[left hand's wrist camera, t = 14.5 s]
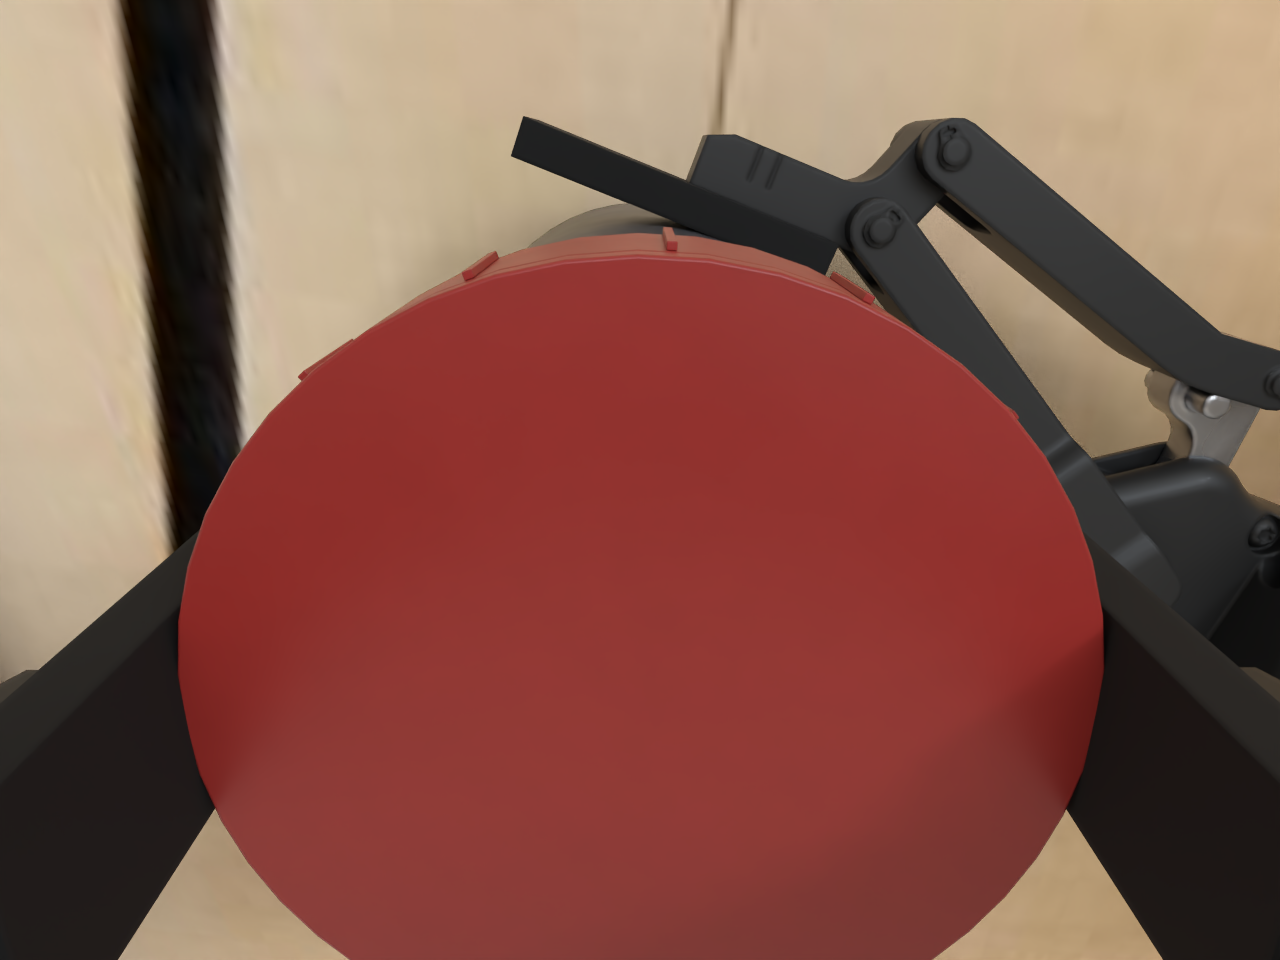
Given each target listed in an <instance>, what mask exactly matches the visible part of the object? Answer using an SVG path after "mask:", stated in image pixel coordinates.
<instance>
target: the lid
mask: <svg viewBox="0 0 1280 960" xmlns="http://www.w3.org/2000/svg"><path fill="white" fill-rule="evenodd" d="M874 299H875V296H873V295H872V294H870V293H868V292H867V291H865V290H864V289H862V288H861V287H859V286H857V285H856V284H854V283H853V282H851V281H850V280H848V279H846V278H845V277H843V276H842V275H840V274H838V273H836V272H833V273H832V275H831V276H830V278H829V277H827V276H825V275H823V274H821V273H819V272H817V271H815V270H813V269H811V268H809V267H807V266H804V265H801V264H798V263H795V262H793V261H790V260H787V259H784V258H781V257H778V256H775V255H772V254H769V253H767V252H764V251H761V250H758V249H755V248H751V247H746V246H741V245H736V244H731V243H726V242H721V241H716V240H711V239H706V238H701V237H696V236H680V235H675V234H674V232H673V229H672V228H671V227H663V234H646V233H631V234H617V235H604V236H591V237H579V238H574V239H569V240H565V241H560V242H555V243H551V244H546V245H541V246H537V247H532V248H527V249H523V250H520V251H517V252H514V253H512V254H509V255H506V256H503V257H501V258H499V257H498V255H497V252H496V251H494V252H492V253H489V254H487V255H486V256H484V257H483V258H481V259H480V260H479V261H477V262H476V263H474V264H473V265H471V266H470V267H469V268H467V269H466V270H464V271H463V272H462V273H460V274H458V275H457V276H455V277H453V278H451V279H449V280H447V281H445V282H443V283H442V284H440V285H438V286H436V287H434V288H432V289H430V290H428V291H426V292H425V293H423V294H421V295H419V296H418V297H416V298H415V299H413V300H412V301H410V302H409V303H407V304H406V305H404V306H403V307H401V308H400V309H398V310H397V311H395V312H394V313H392V314H391V315H389V316H388V317H386V318H385V319H383V320H382V321H380V322H379V323H377V324H376V325H374V326H373V327H371V328H370V329H368V330H367V331H366V332H364V333H363V334H361V335H360V336H359V337H357V338H356V339H355V340H353V339H351V340H349V341H348V342H346V343H345V344H343V345H342V346H340V347H339V348H337V349H336V350H334V351H333V352H331V353H330V354H328V355H327V356H325V357H324V358H322V359H321V360H319V361H318V362H316V363H315V364H313V365H312V366H310V367H309V368H307V369H306V370H304V371H303V372H302V373H301V374H300V375H299V376H298V378H299V379H300V380H301V382H300V383H299V384H298V385H297V386H296V387H295V388H294V389H293V390H292V391H291V392H290V393H289V394H288V395H287V396H286V397H285V398H284V399H283V400H282V401H281V402H280V403H279V404H278V405H277V406H276V407H275V408H274V409H273V410H272V411H271V412H270V413H269V414H268V415H267V417H266V418H265V419H264V421H263V422H262V424H261V425H260V426H259V428H258V429H257V430H256V432H255V433H254V434H253V436H252V437H251V438H250V440H249V441H248V442H247V444H246V445H245V446H244V448H243V449H242V450H241V452H240V453H239V454H238V456H237V457H236V458H235V460H234V461H233V463H232V464H231V466H230V468H229V470H228V472H227V474H226V476H225V478H224V480H223V482H222V483H221V485H220V487H219V489H218V491H217V493H216V495H215V497H214V499H213V501H212V502H211V504H210V506H209V508H208V510H207V512H206V514H205V517H204V520H203V523H202V526H201V529H200V532H199V534H198V537H197V540H196V543H195V546H194V549H193V552H192V555H191V558H190V561H189V564H188V567H187V573H186V579H185V585H184V591H183V597H182V602H181V608H180V614H179V620H178V679H179V684H180V689H181V694H182V700H183V705H184V710H185V715H186V720H187V724H188V729H189V734H190V738H191V742H192V747H193V751H194V755H195V759H196V764H197V767H198V770H199V774H200V776H201V778H202V780H203V783H204V785H205V787H206V789H207V791H208V793H209V796H210V798H211V800H212V802H213V804H214V806H215V808H216V811H217V813H218V815H219V817H220V819H221V821H222V823H223V824H224V826H225V827H226V829H227V831H228V832H229V834H230V835H231V837H232V838H233V840H234V841H235V843H236V845H237V846H238V848H239V849H240V851H241V852H242V854H243V856H244V857H245V859H246V860H247V862H248V863H249V864H250V866H251V867H252V868H253V869H254V870H255V872H256V873H257V874H258V875H259V876H260V877H261V879H262V880H263V881H264V882H265V883H266V885H267V886H268V887H269V888H270V889H271V891H272V892H273V893H274V894H275V895H276V897H277V898H278V899H279V900H280V901H281V902H282V903H283V904H284V905H285V906H286V907H287V908H288V909H289V910H290V911H291V912H292V913H294V914H295V915H296V916H297V917H298V918H299V919H300V920H301V921H302V922H303V923H304V924H305V925H306V926H307V927H308V928H310V929H311V930H312V931H313V932H314V933H315V934H316V935H317V936H318V937H320V938H321V939H322V940H324V941H325V942H326V943H328V944H329V945H331V946H332V947H333V948H335V949H336V950H337V951H339V952H340V953H341V954H343V955H344V956H345V957H347V958H348V959H349V960H932V959H934V958H935V957H936V956H938V955H939V954H940V953H942V952H943V951H944V950H946V949H947V948H948V947H950V946H951V945H952V944H953V943H955V942H956V941H957V940H959V939H960V938H961V937H963V936H964V935H965V934H967V933H968V932H969V931H970V930H971V929H972V928H973V927H974V926H975V925H976V924H977V923H979V922H980V921H981V920H982V919H983V918H984V917H985V916H986V915H987V914H988V913H989V912H990V911H991V910H992V909H993V908H994V907H995V906H996V905H997V904H998V903H999V902H1000V901H1001V900H1002V899H1003V898H1005V896H1006V895H1007V894H1008V893H1009V892H1010V890H1011V889H1012V888H1013V887H1014V885H1015V884H1016V883H1017V882H1018V880H1019V879H1020V878H1021V877H1022V876H1023V874H1024V873H1025V872H1026V871H1027V869H1028V868H1029V867H1030V866H1031V865H1032V863H1033V862H1034V861H1035V860H1036V858H1037V857H1038V855H1039V854H1040V852H1041V850H1042V849H1043V847H1044V846H1045V844H1046V842H1047V841H1048V839H1049V838H1050V836H1051V834H1052V833H1053V831H1054V830H1055V828H1056V826H1057V825H1058V823H1059V821H1060V820H1061V818H1062V817H1063V815H1064V813H1065V810H1066V808H1067V806H1068V804H1069V801H1070V799H1071V797H1072V795H1073V792H1074V790H1075V788H1076V786H1077V783H1078V781H1079V779H1080V777H1081V775H1082V772H1083V768H1084V764H1085V760H1086V756H1087V751H1088V747H1089V743H1090V738H1091V733H1092V729H1093V724H1094V719H1095V715H1096V710H1097V705H1098V700H1099V695H1100V690H1101V685H1102V679H1103V674H1104V639H1103V613H1102V608H1101V603H1100V597H1099V592H1098V587H1097V581H1096V576H1095V570H1094V565H1093V560H1092V558H1091V555H1090V552H1089V549H1088V546H1087V544H1086V541H1085V538H1084V535H1083V532H1082V530H1081V527H1080V524H1079V521H1078V518H1077V516H1076V513H1075V510H1074V507H1073V506H1072V504H1071V502H1070V500H1069V498H1068V496H1067V495H1066V493H1065V491H1064V489H1063V487H1062V486H1061V484H1060V482H1059V480H1058V478H1057V476H1056V475H1055V473H1054V471H1053V469H1052V467H1051V465H1050V464H1049V462H1048V460H1047V458H1046V456H1045V455H1044V454H1043V453H1042V451H1041V450H1040V449H1039V447H1038V446H1037V445H1036V443H1035V442H1034V441H1033V440H1032V438H1031V437H1030V436H1029V434H1028V433H1027V432H1026V430H1025V429H1024V428H1023V427H1022V425H1021V424H1020V423H1019V421H1018V420H1017V419H1019V416H1018V415H1017V414H1016V413H1015V411H1013V410H1012V409H1011V408H1009V407H1008V406H1006V405H1005V404H1004V403H1002V402H1001V401H1000V400H999V399H998V398H997V397H996V396H995V395H994V394H993V393H992V392H991V391H990V390H989V389H988V388H987V387H986V386H984V385H983V384H982V383H981V382H980V381H979V380H978V379H977V378H976V377H975V376H974V375H973V374H972V373H971V372H970V371H969V370H968V369H967V368H966V367H965V366H964V365H962V364H961V363H960V362H958V361H957V360H955V359H954V358H953V357H951V356H950V355H948V354H947V353H946V352H944V351H943V350H941V349H940V348H938V347H937V346H936V345H934V344H933V343H931V342H930V341H929V340H927V339H926V338H924V337H923V336H921V335H920V334H919V333H917V332H916V331H914V330H913V329H911V328H910V327H909V326H907V325H906V324H904V323H903V322H901V321H900V320H898V319H897V318H895V317H894V316H892V315H891V314H889V313H888V312H886V311H885V310H883V309H882V308H880V307H879V306H877V305H876V304H874V303H873V301H874Z"/></svg>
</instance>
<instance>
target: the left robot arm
mask: <svg viewBox="0 0 1280 960" xmlns="http://www.w3.org/2000/svg"><path fill="white" fill-rule="evenodd" d="M199 532H200V530H199V531H198V532H197V533H196V534H194V535H193V536H192V537H191V538H190V539H189V540H188V541H186V542H185V543H184V544H183V545H182V546H181V547H179V548H178V549H177V550H176V551H175V552H174V553H173V554H171V555H170V556H169V557H168V558H167V559H166V560H165V561H163V562H162V563H161V564H160V565H159V566H158V567H156V568H155V569H154V570H153V571H152V572H151V573H150V574H148V575H147V576H146V577H145V578H144V579H143V580H142V581H140V582H139V583H138V584H137V585H136V586H135V587H133V588H132V589H131V590H130V591H129V592H128V593H127V594H125V595H124V596H123V597H122V598H121V599H120V600H119V601H117V602H116V603H115V604H114V605H113V606H112V607H110V608H109V609H108V610H107V611H106V612H105V613H104V614H102V615H101V616H100V617H99V618H98V619H97V620H96V621H94V622H93V623H92V624H91V625H90V626H89V627H87V628H86V629H85V630H84V631H83V632H82V633H81V634H79V635H78V636H77V637H76V638H75V639H74V640H73V641H71V642H70V643H69V644H68V645H67V646H66V647H64V648H63V649H62V650H61V651H60V652H59V653H58V654H56V655H55V656H54V657H53V658H52V659H51V660H50V661H48V662H47V663H46V664H45V665H44V666H43V667H42V668H40V669H39V670H26V671H24V672H22V673H20V674H18V675H16V676H14V677H13V678H11V679H9V680H7V681H5V682H3V683H1V684H0V960H118V959H119V957H120V956H121V954H122V952H123V951H124V949H125V948H126V946H127V945H128V943H129V942H130V940H131V938H132V937H133V935H134V934H135V932H136V931H137V929H138V928H139V926H140V924H141V923H142V921H143V920H144V918H145V917H146V915H147V914H148V912H149V910H150V909H151V907H152V906H153V904H154V903H155V901H156V900H157V898H158V896H159V895H160V893H161V892H162V890H163V889H164V887H165V886H166V884H167V882H168V881H169V879H170V878H171V876H172V875H173V873H174V872H175V870H176V868H177V867H178V865H179V864H180V862H181V861H182V859H183V858H184V856H185V854H186V853H187V851H188V850H189V848H190V847H191V845H192V843H193V842H194V840H195V839H196V837H197V836H198V834H199V833H200V831H201V829H202V828H203V826H204V825H205V823H206V822H207V820H208V819H209V817H210V815H211V814H212V812H213V811H214V809H215V806H214V804H213V802H212V800H211V798H210V796H209V793H208V791H207V789H206V787H205V785H204V783H203V780H202V778H201V776H200V774H199V770H198V767H197V764H196V759H195V755H194V751H193V747H192V742H191V738H190V734H189V729H188V724H187V720H186V715H185V710H184V705H183V700H182V694H181V689H180V684H179V679H178V620H179V614H180V608H181V602H182V597H183V591H184V585H185V579H186V573H187V567H188V564H189V561H190V558H191V555H192V552H193V549H194V546H195V543H196V540H197V537H198V534H199ZM1082 532H1083V531H1082ZM1083 535H1084V538H1085V541H1086V544H1087V546H1088V549H1089V552H1090V555H1091V558H1092V560H1093V565H1094V570H1095V576H1096V581H1097V587H1098V592H1099V597H1100V603H1101V608H1102V613H1103V639H1104V674H1103V679H1102V685H1101V690H1100V695H1099V700H1098V705H1097V710H1096V715H1095V719H1094V724H1093V729H1092V733H1091V738H1090V743H1089V747H1088V751H1087V756H1086V760H1085V764H1084V768H1083V772H1082V775H1081V777H1080V779H1079V781H1078V783H1077V786H1076V788H1075V790H1074V792H1073V795H1072V797H1071V799H1070V801H1069V804H1068V806H1067V808H1066V809H1067V811H1068V812H1069V814H1070V816H1071V817H1072V819H1073V820H1074V822H1075V823H1076V825H1077V826H1078V828H1079V830H1080V831H1081V833H1082V834H1083V836H1084V837H1085V839H1086V840H1087V842H1088V844H1089V845H1090V847H1091V848H1092V850H1093V851H1094V853H1095V854H1096V856H1097V858H1098V859H1099V861H1100V862H1101V864H1102V865H1103V867H1104V868H1105V870H1106V872H1107V873H1108V875H1109V876H1110V878H1111V879H1112V881H1113V883H1114V884H1115V886H1116V887H1117V889H1118V890H1119V892H1120V893H1121V895H1122V897H1123V898H1124V900H1125V901H1126V903H1127V904H1128V906H1129V907H1130V909H1131V911H1132V912H1133V914H1134V915H1135V917H1136V918H1137V920H1138V921H1139V923H1140V925H1141V926H1142V928H1143V929H1144V931H1145V932H1146V934H1147V935H1148V937H1149V939H1150V940H1151V942H1152V943H1153V945H1154V946H1155V948H1156V949H1157V951H1158V953H1159V954H1160V956H1161V957H1162V959H1163V960H1280V680H1279V679H1277V678H1275V677H1273V676H1271V675H1269V674H1268V673H1266V672H1264V671H1262V670H1260V669H1258V668H1256V667H1238V666H1237V665H1236V664H1235V663H1234V662H1233V661H1231V660H1230V659H1229V658H1228V657H1227V656H1226V655H1225V654H1223V653H1222V652H1221V651H1220V650H1219V649H1218V648H1217V647H1215V646H1214V645H1213V644H1212V643H1211V642H1210V641H1208V640H1207V639H1206V638H1205V637H1204V636H1203V635H1202V634H1200V633H1199V632H1198V631H1197V630H1196V629H1195V628H1194V627H1192V626H1191V625H1190V624H1189V623H1188V622H1187V621H1185V620H1184V619H1183V618H1182V617H1181V616H1180V615H1179V614H1177V613H1176V612H1175V611H1174V610H1173V609H1172V608H1171V607H1169V606H1168V605H1167V604H1166V603H1165V602H1164V601H1162V600H1161V599H1160V598H1159V597H1158V596H1157V595H1156V594H1154V593H1153V592H1152V591H1151V590H1150V589H1149V588H1148V587H1146V586H1145V585H1144V584H1143V583H1142V582H1141V581H1139V580H1138V579H1137V578H1136V577H1135V576H1134V575H1133V574H1131V573H1130V572H1129V571H1128V570H1127V569H1126V568H1125V567H1123V566H1122V565H1121V564H1120V563H1119V562H1118V561H1116V560H1115V559H1114V558H1113V557H1112V556H1111V555H1110V554H1108V553H1107V552H1106V551H1105V550H1104V549H1103V548H1102V547H1100V546H1099V545H1098V544H1097V543H1096V542H1095V541H1093V540H1092V539H1091V538H1090V537H1089V536H1088V535H1087V534H1085V533H1084V532H1083Z"/></svg>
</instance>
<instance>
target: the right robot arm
mask: <svg viewBox="0 0 1280 960" xmlns="http://www.w3.org/2000/svg"><path fill="white" fill-rule="evenodd" d="M511 156H512V157H514V158H517V159H519V160H522V161H524V162H527V163H529V164H532V165H534V166H537V167H539V168H542V169H544V170H547V171H549V172H552V173H554V174H557V175H559V176H562V177H564V178H567V179H569V180H572V181H574V182H577V183H579V184H582V185H584V186H586V187H589V188H591V189H594V190H596V191H599V192H601V193H604V194H606V195H609V196H611V197H614V198H616V199H619V200H621V201H624V202H626V203H629V204H631V205H634V206H636V207H639V208H641V209H644V210H646V211H649V212H651V213H654V214H656V215H659V216H661V217H664V218H666V219H669V220H671V221H674V222H676V223H679V224H681V225H684V226H686V227H689V228H691V229H694V230H696V231H699V232H701V233H704V234H706V235H709V236H711V237H714V238H716V239H718V240H721V241H724V242H727V243H731V244H736V245H741V246H746V247H751V248H755V249H758V250H761V251H764V252H767V253H769V254H772V255H775V256H778V257H781V258H784V259H787V260H790V261H793V262H795V263H798V264H801V265H804V266H807V267H809V268H811V269H813V270H815V271H817V272H819V273H821V274H823V275H825V274H826V272H827V270H828V268H829V265H830V263H831V261H832V259H833V257H834V254H835V252H836V250H837V248H839V250H840V251H841V252H842V254H843V255H844V256H845V258H846V259H847V260H848V262H849V263H850V264H851V265H852V267H853V268H854V269H855V271H856V272H857V273H858V275H859V276H860V277H861V279H862V280H863V281H864V283H865V284H866V285H867V287H868V288H869V289H870V290H871V292H872V293H873V294H874V296H875V297H876V298H877V300H878V301H879V302H880V304H881V305H882V306H883V308H884V309H885V310H886V311H887V312H888V313H889V314H891V315H892V316H894V317H895V318H897V319H898V320H900V321H901V322H903V323H904V324H906V325H907V326H909V327H910V328H911V329H913V330H914V331H916V332H917V333H919V334H920V335H921V336H923V337H924V338H926V339H927V340H929V341H930V342H931V343H933V344H934V345H936V346H937V347H938V348H940V349H941V350H943V351H944V352H946V353H947V354H948V355H950V356H951V357H953V358H954V359H955V360H957V361H958V362H960V363H961V364H962V365H964V366H965V367H966V368H967V369H968V370H969V371H970V372H971V373H972V374H973V375H974V376H975V377H976V378H977V379H978V380H979V381H980V382H981V383H982V384H983V385H984V386H986V387H987V388H988V389H989V390H990V391H991V392H992V393H993V394H994V395H995V396H996V397H997V398H998V399H999V400H1000V401H1001V402H1002V403H1004V404H1005V405H1006V406H1008V407H1009V408H1011V409H1012V410H1013V411H1015V413H1016V414H1017V415H1018V416H1019V419H1017V420H1018V421H1019V423H1020V424H1021V425H1022V427H1023V428H1024V429H1025V430H1026V432H1027V433H1028V434H1029V436H1030V437H1031V438H1032V440H1033V441H1034V442H1035V443H1036V445H1037V446H1038V447H1039V449H1040V450H1041V451H1042V453H1043V454H1044V455H1045V456H1046V458H1047V460H1048V462H1049V464H1050V465H1051V467H1052V469H1053V471H1054V473H1055V475H1056V476H1057V478H1058V480H1059V482H1060V484H1061V486H1062V487H1063V489H1064V491H1065V493H1066V495H1067V496H1068V498H1069V500H1070V502H1071V504H1072V506H1073V507H1074V510H1075V513H1076V516H1077V518H1078V521H1079V524H1080V527H1081V530H1082V531H1083V532H1084V533H1085V534H1087V535H1088V536H1089V537H1090V538H1091V539H1092V540H1093V541H1095V542H1096V543H1097V544H1098V545H1099V546H1100V547H1102V548H1103V549H1104V550H1105V551H1106V552H1107V553H1108V554H1110V555H1111V556H1112V557H1113V558H1114V559H1115V560H1116V561H1118V562H1119V563H1120V564H1121V565H1122V566H1123V567H1125V568H1126V569H1127V570H1128V571H1129V572H1130V573H1131V574H1133V575H1134V576H1135V577H1136V578H1137V579H1138V580H1139V581H1141V582H1142V583H1143V584H1144V585H1145V586H1146V587H1148V588H1149V589H1150V590H1151V591H1152V592H1153V593H1154V594H1156V595H1157V596H1158V597H1159V598H1160V599H1161V600H1162V601H1164V602H1165V603H1166V604H1167V605H1168V606H1169V607H1171V608H1172V609H1173V610H1174V611H1175V612H1176V613H1177V614H1179V615H1180V616H1181V617H1182V618H1183V619H1184V620H1185V621H1187V622H1188V623H1189V624H1190V625H1191V626H1192V627H1194V628H1195V629H1196V630H1197V631H1198V632H1199V633H1200V634H1202V635H1203V636H1204V637H1205V638H1206V639H1207V640H1208V641H1210V642H1211V643H1212V644H1213V645H1214V646H1215V647H1217V648H1218V649H1219V650H1220V651H1221V652H1222V653H1223V654H1225V655H1226V656H1227V657H1228V658H1229V659H1230V660H1231V661H1233V662H1234V663H1235V664H1236V665H1237V666H1238V667H1256V668H1258V669H1260V670H1262V671H1264V672H1266V673H1268V674H1269V675H1271V676H1273V677H1275V678H1277V679H1279V680H1280V505H1277V504H1275V503H1272V502H1270V501H1267V500H1265V499H1262V498H1259V497H1257V496H1254V495H1252V494H1249V493H1248V492H1247V491H1246V490H1245V488H1244V487H1243V486H1242V484H1241V482H1240V480H1239V479H1238V477H1237V476H1236V474H1235V473H1234V472H1233V471H1232V470H1231V469H1230V468H1229V465H1230V463H1231V461H1232V459H1233V457H1234V456H1235V454H1236V452H1237V450H1238V448H1239V446H1240V444H1241V443H1242V441H1243V439H1244V437H1245V435H1246V433H1247V432H1248V430H1249V428H1250V426H1251V424H1252V422H1253V421H1254V419H1255V417H1256V415H1257V413H1258V411H1259V410H1260V408H1261V409H1265V410H1276V411H1277V410H1280V351H1279V350H1276V349H1273V348H1270V347H1267V346H1263V345H1260V344H1257V343H1254V342H1251V341H1248V340H1245V339H1241V338H1238V337H1235V336H1232V335H1229V334H1226V333H1223V332H1219V331H1218V330H1217V329H1216V328H1215V327H1213V326H1212V325H1211V324H1210V323H1209V322H1208V321H1206V320H1205V319H1204V318H1203V317H1202V316H1201V315H1199V314H1198V313H1197V312H1196V311H1195V310H1193V309H1192V308H1191V307H1190V306H1189V305H1188V304H1186V303H1185V302H1184V301H1183V300H1182V299H1181V298H1179V297H1178V296H1177V295H1176V294H1175V293H1174V292H1172V291H1171V290H1170V289H1169V288H1168V287H1166V286H1165V285H1164V284H1163V283H1162V282H1161V281H1159V280H1158V279H1157V278H1156V277H1155V276H1154V275H1152V274H1151V273H1150V272H1149V271H1148V270H1146V269H1145V268H1144V267H1143V266H1142V265H1141V264H1139V263H1138V262H1137V261H1136V260H1135V259H1134V258H1132V257H1131V256H1130V255H1129V254H1128V253H1126V252H1125V251H1124V250H1123V249H1122V248H1121V247H1119V246H1118V245H1117V244H1116V243H1115V242H1114V241H1112V240H1111V239H1110V238H1109V237H1108V236H1107V235H1105V234H1104V233H1103V232H1102V231H1101V230H1099V229H1098V228H1097V227H1096V226H1095V225H1094V224H1092V223H1091V222H1090V221H1089V220H1088V219H1087V218H1085V217H1084V216H1083V215H1082V214H1081V213H1079V212H1078V211H1077V210H1076V209H1075V208H1074V207H1072V206H1071V205H1070V204H1069V203H1068V202H1067V201H1065V200H1064V199H1063V198H1062V197H1061V196H1060V195H1058V194H1057V193H1056V192H1055V191H1054V190H1052V189H1051V188H1050V187H1049V186H1048V185H1047V184H1045V183H1044V182H1043V181H1042V180H1041V179H1040V178H1038V177H1037V176H1036V175H1035V174H1034V173H1032V172H1031V171H1030V170H1029V169H1028V168H1027V167H1025V166H1024V165H1023V164H1022V163H1021V162H1020V161H1018V160H1017V159H1016V158H1015V157H1014V156H1013V155H1011V154H1010V153H1009V152H1008V151H1007V150H1005V149H1004V148H1003V147H1002V146H1001V145H1000V144H998V143H997V142H996V141H995V140H994V139H993V138H991V137H990V136H989V135H988V134H987V133H985V132H984V131H983V130H982V129H981V128H980V127H978V126H977V125H976V124H975V123H973V122H971V121H969V120H967V119H965V118H947V119H936V120H925V121H915V122H912V123H910V124H907V125H905V126H904V127H902V128H901V129H900V130H899V131H898V132H897V133H896V134H895V136H894V138H893V140H892V142H891V144H890V147H889V148H888V149H887V150H886V152H885V153H884V154H883V155H882V156H881V157H880V158H879V159H878V160H877V161H876V163H875V164H874V165H873V166H872V167H871V168H870V169H868V170H867V171H866V172H865V173H864V174H862V175H860V176H858V177H856V178H852V179H848V180H843V179H840V178H838V177H836V176H833V175H831V174H829V173H826V172H824V171H821V170H819V169H817V168H814V167H812V166H809V165H807V164H805V163H802V162H800V161H797V160H795V159H793V158H790V157H788V156H786V155H783V154H780V153H778V152H776V151H774V150H771V149H769V148H766V147H764V146H761V145H759V144H757V143H755V142H752V141H750V140H747V139H745V138H743V137H740V136H738V135H704V136H703V137H702V140H701V142H700V145H699V147H698V150H697V153H696V155H695V158H694V160H693V163H692V166H691V168H690V171H689V174H688V176H687V179H686V180H684V179H681V178H679V177H676V176H674V175H672V174H669V173H667V172H664V171H662V170H659V169H657V168H654V167H652V166H650V165H647V164H645V163H642V162H640V161H637V160H635V159H632V158H630V157H628V156H625V155H623V154H620V153H618V152H615V151H613V150H610V149H608V148H606V147H603V146H601V145H598V144H596V143H593V142H591V141H588V140H586V139H584V138H581V137H579V136H576V135H574V134H571V133H569V132H566V131H564V130H561V129H559V128H557V127H554V126H552V125H549V124H547V123H544V122H542V121H539V120H536V119H532V118H528V117H525V116H523V119H522V122H521V125H520V129H519V132H518V135H517V138H516V141H515V145H514V148H513V151H512V154H511ZM935 205H936V206H937V207H938V208H940V209H941V210H942V211H943V212H944V213H946V214H947V215H948V216H949V217H951V218H952V219H953V220H954V221H955V222H957V223H958V224H959V225H960V226H962V227H963V228H964V229H965V230H967V231H968V232H969V233H970V234H971V235H973V236H974V237H975V238H976V239H978V240H979V241H980V242H981V243H982V244H984V245H985V246H986V247H987V248H989V249H990V250H991V251H992V252H993V253H995V254H996V255H997V256H998V257H1000V258H1001V259H1002V260H1003V261H1005V262H1006V263H1007V264H1008V265H1009V266H1011V267H1012V268H1013V269H1014V270H1016V271H1017V272H1018V273H1019V274H1020V275H1022V276H1023V277H1024V278H1025V279H1027V280H1028V281H1029V282H1030V283H1032V284H1033V285H1034V286H1035V287H1036V288H1038V289H1039V290H1040V291H1041V292H1043V293H1044V294H1045V295H1046V296H1047V297H1049V298H1050V299H1051V300H1052V301H1054V302H1055V303H1056V304H1057V305H1059V306H1060V307H1061V308H1062V309H1063V310H1065V311H1066V312H1067V313H1068V314H1070V315H1071V316H1072V317H1073V318H1074V319H1076V320H1077V321H1078V322H1079V323H1081V324H1082V325H1083V326H1084V327H1085V328H1087V329H1088V330H1089V331H1090V332H1092V333H1093V334H1094V335H1095V336H1097V337H1098V338H1099V339H1100V340H1101V341H1103V342H1104V343H1105V344H1107V345H1108V346H1109V347H1111V348H1112V349H1114V350H1115V351H1117V352H1118V353H1119V354H1121V355H1123V356H1125V357H1127V358H1129V359H1131V360H1133V361H1135V362H1137V363H1139V364H1141V365H1144V366H1146V367H1148V368H1151V370H1150V371H1149V372H1148V373H1147V375H1146V377H1145V380H1144V381H1145V386H1146V387H1147V388H1148V392H1147V394H1148V398H1149V401H1150V402H1151V404H1152V405H1153V406H1154V407H1155V408H1157V409H1158V410H1160V411H1161V412H1163V413H1164V414H1165V415H1166V416H1167V418H1168V419H1169V422H1170V425H1171V432H1170V436H1169V439H1168V442H1158V443H1154V444H1149V445H1145V446H1141V447H1137V448H1133V449H1129V450H1124V451H1120V452H1116V453H1112V454H1108V455H1104V456H1099V457H1095V458H1091V457H1090V456H1089V455H1088V454H1087V453H1086V452H1085V451H1084V450H1083V449H1082V448H1081V447H1080V446H1079V445H1078V444H1077V443H1076V442H1075V441H1074V440H1073V438H1072V437H1071V436H1070V435H1069V434H1068V432H1067V431H1066V430H1065V428H1064V427H1063V426H1062V424H1061V423H1060V422H1059V420H1058V419H1057V417H1056V416H1055V415H1054V413H1053V412H1052V410H1051V409H1050V408H1049V406H1048V405H1047V404H1046V402H1045V401H1044V399H1043V398H1042V397H1041V395H1040V394H1039V393H1038V391H1037V390H1036V388H1035V387H1034V386H1033V384H1032V383H1031V381H1030V380H1029V379H1028V377H1027V376H1026V375H1025V373H1024V372H1023V370H1022V369H1021V368H1020V366H1019V365H1018V364H1017V362H1016V361H1015V359H1014V358H1013V357H1012V355H1011V354H1010V352H1009V351H1008V350H1007V348H1006V347H1005V346H1004V344H1003V343H1002V341H1001V340H1000V339H999V337H998V336H997V334H996V333H995V332H994V330H993V329H992V328H991V326H990V325H989V323H988V322H987V321H986V319H985V318H984V317H983V315H982V314H981V312H980V311H979V310H978V308H977V307H976V305H975V304H974V303H973V301H972V300H971V299H970V297H969V296H968V294H967V293H966V292H965V290H964V289H963V288H962V286H961V285H960V283H959V282H958V281H957V279H956V278H955V276H954V275H953V274H952V272H951V271H950V270H949V268H948V267H947V265H946V264H945V263H944V261H943V260H942V259H941V257H940V256H939V254H938V253H937V252H936V250H935V249H934V247H933V246H932V245H931V243H930V242H929V241H928V239H927V238H926V236H925V235H924V234H923V232H922V231H921V230H920V228H919V227H918V225H917V224H918V223H919V222H920V221H921V219H922V218H923V217H924V216H925V215H926V214H927V213H928V212H929V211H930V210H931V209H932V208H933V207H934V206H935Z"/></svg>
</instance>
